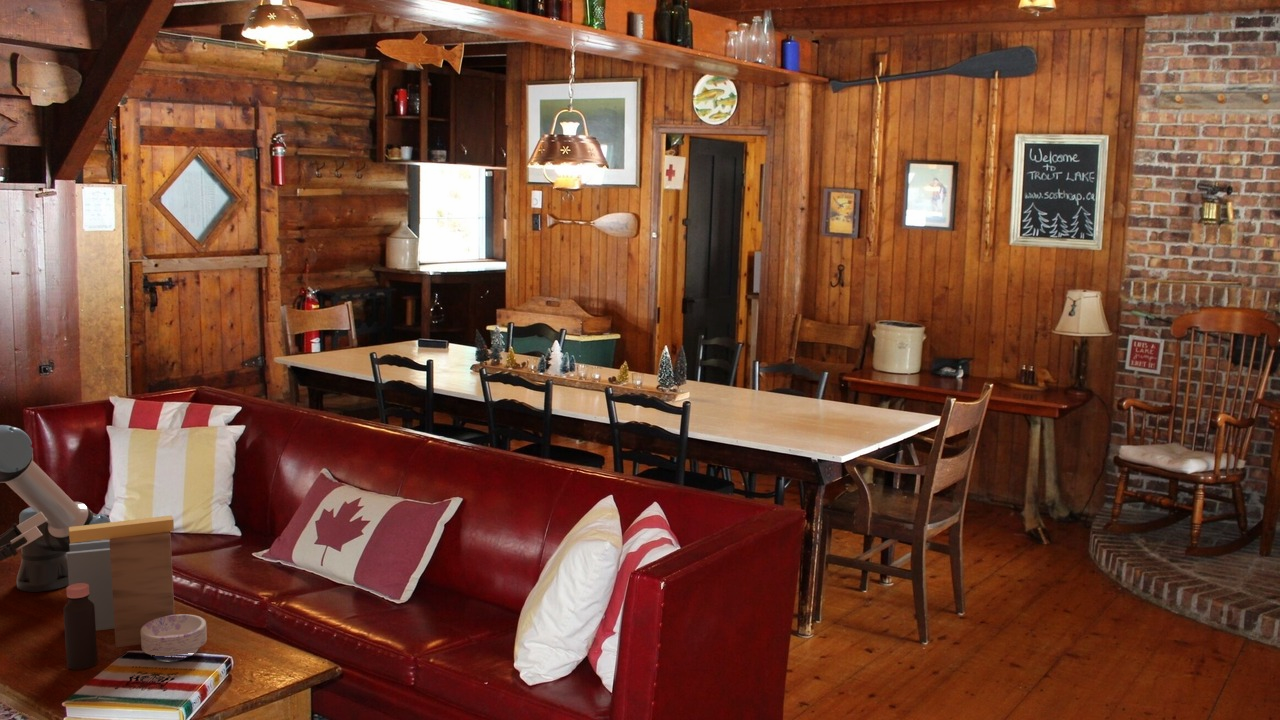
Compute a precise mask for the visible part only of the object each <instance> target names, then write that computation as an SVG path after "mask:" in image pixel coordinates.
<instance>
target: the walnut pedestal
mask: <svg viewBox="0 0 1280 720" xmlns="http://www.w3.org/2000/svg"><path fill="white" fill-rule="evenodd" d="M171 535H172V534H171V531H168V532H160V533H151V534H143V535H135V536H126V537H118V538H110V540H109V541H110V558H111V575H112V592H113V609H114V626H115V628H114V638H115V639H114V641H115V647H116V648H120V647H128V646H129V647H130V646H137V645H141V632H140V631H141V628H142V627H143V626H144V625H145V624H146V623H148V622H149V621H152V620H154V619H157V618H160V617H164V616H169V615H176V614H175V601H174V600H175V598H174V596H175V595H174V577H173V559H172V557H173V556H172V541H171V539H172V538H171Z"/></svg>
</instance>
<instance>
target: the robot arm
mask: <svg viewBox="0 0 1280 720" xmlns="http://www.w3.org/2000/svg"><path fill="white" fill-rule="evenodd" d="M32 444H33V442H32V440H31V438H30V436H29V435H28V434H27V433H26V432H25V431H24V430H22V429H21V428H18V427H15V426H11V425H6V424H0V484H1V483H5V485H7V486H8V487H9V488H10V489H11V490H12V491H13V492H14V493H15V494H17V495H18V497H19V498H21V500H23V502H25V503H26V504H27V505H28V506H29V507H27V508H25V509H23V510H22V511H21V512H20V513H19V515H18V518H19V520H18V523H19V524H17V523H13V524H12V526H11V527H10V528H9V529H7V530H6V531H5V532H3V533H2V534H0V562H2V561H4V560H7V559H8V558H11V557H12V556H13V557H15V556H17V555H18V554H19V553H18V550H20V552H21V561H20V565H19V568H18V573H17V576H16V580H15V581H16V588H17V589H18V590H19V591H23V592H29V593H30V592H32V593H36V592H37V593H38V592H39V593H40V592H47V591H52V590H57V589H62V588H64V587H68V586H69V579H68V564H67V552H70V548H69V544H70V539H69V527H75V526H83V525H92V524H101V523H110V522H111V519H110V518H109V517H108V516H107V515H105V514H102V513H98V514H97V513H94V512H93V511H92V510H91V509H90V508H89V507H88V506H87V505H86V504H85V503H83V502H80V501H74V500H72V499H71V498H70V496H69V495H67V494H66V493H65V491H64V490H63V489H62V488H61V487H60V486H59V485H57V483H56V482H55V481H54V480H53V479H52V478H51V477H49V475H48V474H47V473H46V472H45V471H44V470H43V469H42V468H41V467H40V466H39V465H38V464H37V463H36V462H35V461H34V449H33V447H32ZM101 540H103V539H101ZM101 540H93V541H101ZM85 542H92V541H85ZM76 543H81V542H76Z"/></svg>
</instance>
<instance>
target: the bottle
mask: <svg viewBox="0 0 1280 720" xmlns="http://www.w3.org/2000/svg"><path fill="white" fill-rule="evenodd" d="M65 589H66V597H67V600H68V602H67V603H66V604H65V605H64V606H63V623H64V640H65V653H66V654H65V655H66V667H67V668H68V669H70V670H72V671H81V670H82V671H83V670H87V669H90V668H93V667H95V666H96V665H97V664H98V661H99V657H98V645H97V644H98V641H97V631H96V624H95V607H94V603H93V602H92V601H90V600H89V599H88V596H89V585H88V584H86V583H76V584H72V585H67V586H66V588H65Z"/></svg>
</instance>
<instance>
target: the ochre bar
mask: <svg viewBox="0 0 1280 720" xmlns="http://www.w3.org/2000/svg"><path fill="white" fill-rule="evenodd" d="M174 525H175V524H174V518H173V516H172V515H164V516H156V517H147V518H145V517H144V518H137V519H129V520H128V519H127V520H120V521H110V523H101V524H92V525H83V526H75V527H69V539H70V543H76V542H85V541H93V540H101V539H110V538H118V537H126V536H135V535H143V534H151V533H160V532H168V531H170V532H174V531H175V526H174Z"/></svg>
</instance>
